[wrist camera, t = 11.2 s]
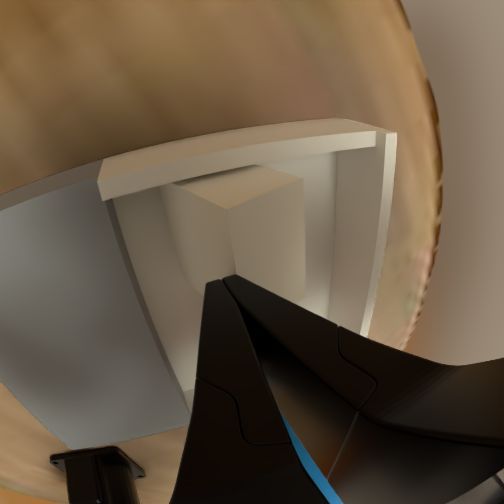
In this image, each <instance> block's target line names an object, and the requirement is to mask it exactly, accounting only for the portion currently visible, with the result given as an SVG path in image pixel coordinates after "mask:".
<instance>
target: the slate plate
mask: <svg viewBox="0 0 504 504" xmlns="http://www.w3.org/2000/svg"><path fill="white" fill-rule="evenodd" d="M103 160H104V159H101V160H98V161H94V162H91V163H88V164H84V165H81V166H78V167H75V168H72V169H69V170H66V171H63V172H60V173H57V174H54V175H51V176H48V177H46V178H43V179H40V180H37V181H35V182H32V183H29V184H27V185H24V186H22V187H19V188H17V189H14V190H12V191H9V192H7V193H4V194H2V195H0V381H1V382H2V383H3V385H4V386H5V387H6V388H7V389H8V390H9V391H10V392H11V393H12V394H13V396H14V397H15V398H16V399H17V400H18V401H19V402H20V403H21V404H22V405H23V406H24V407H25V408H26V409H27V410H28V411H29V412H30V413H31V414H32V415H33V416H34V417H35V418H36V419H37V420H38V421H39V422H40V423H41V424H42V425H44V426H45V427H46V428H47V429H48V430H49V431H50V432H51V433H52V434H54V435H55V436H56V437H57V438H58V439H59V440H60V441H62V442H63V443H64V444H65V445H66V446H68V447H69V448H70V449H71V450H76V449H83V448H89V447H95V446H101V445H107V444H112V443H117V442H122V441H127V440H132V439H136V438H141V437H145V436H149V435H154V434H158V433H162V432H165V431H169V430H173V429H177V428H180V427H184V426H187V425H189V423H190V418H191V415H190V412H189V409H188V406H187V403H186V400H185V396H184V393H183V390H182V388H181V386H180V384H179V382H178V380H177V377H176V375H175V373H174V371H173V369H172V366H171V364H170V362H169V359H168V357H167V355H166V353H165V350H164V348H163V345H162V343H161V341H160V338H159V336H158V333H157V331H156V328H155V326H154V323H153V321H152V318H151V316H150V313H149V310H148V308H147V305H146V302H145V300H144V297H143V294H142V292H141V289H140V286H139V283H138V280H137V277H136V275H135V272H134V269H133V266H132V263H131V260H130V257H129V254H128V250H127V247H126V244H125V241H124V238H123V234H122V231H121V228H120V224H119V221H118V218H117V214H116V211H115V207H114V203H113V200H112V199H108V200H105V201H102V198H101V194H100V191H99V187H98V183H97V180H98V176H99V173H100V170H101V166H102V163H103Z"/></svg>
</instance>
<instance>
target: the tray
mask: <svg viewBox="0 0 504 504" xmlns="http://www.w3.org/2000/svg"><path fill="white" fill-rule="evenodd" d="M396 145H397V133H396V132H392V131H389V130H386V129H382V128H379V127H375V126H372V125H368V124H364V123H361V122H357V121H353V120H349V119H345V118H328V119H315V120H304V121H294V122H285V123H277V124H269V125H261V126H254V127H247V128H241V129H234V130H228V131H222V132H217V133H211V134H206V135H200V136H195V137H190V138H185V139H181V140H176V141H171V142H167V143H162V144H158V145H154V146H150V147H146V148H142V149H138V150H134V151H130V152H126V153H122V154H119V155H115V156H111V157H108V158H104V160H103V163H102V166H101V170H100V173H99V176H98V180H97V183H98V187H99V191H100V194H101V198H102V201H105V200H108V199H112V200H113V203H114V207H115V211H116V214H117V218H118V221H119V224H120V228H121V231H122V234H123V238H124V241H125V244H126V247H127V250H128V254H129V257H130V260H131V263H132V266H133V269H134V272H135V275H136V277H137V280H138V283H139V286H140V289H141V292H142V294H143V297H144V300H145V302H146V305H147V308H148V310H149V313H150V316H151V318H152V321H153V323H154V326H155V328H156V331H157V333H158V336H159V338H160V341H161V343H162V345H163V348H164V350H165V353H166V355H167V357H168V359H169V362H170V364H171V366H172V369H173V371H174V373H175V375H176V377H177V380H178V382H179V384H180V386H181V388H182V390H183V393H184V396H185V400H186V403H187V406H188V409H189V412H190V415H191V413H192V406H193V397H194V388H195V380H196V368H197V357H198V347H199V337H200V327H201V318H202V308H203V299H204V296H203V295H201V294H200V293H199V292H198V291H197V290H196V289H195V288H194V287H193V286H192V285H191V284H190V283H189V282H188V281H187V280H186V279H185V278H183V277H182V273H181V270H180V266H179V263H178V259H177V255H176V252H175V248H174V244H173V240H172V237H171V233H170V229H169V225H168V221H167V217H166V213H165V209H164V205H163V201H162V196H161V192H160V188H159V186H160V185H163V184H167V183H172V182H176V181H180V180H184V179H188V178H193V177H197V176H201V175H206V174H210V173H215V172H220V171H224V170H229V169H234V168H239V167H244V166H249V165H254V164H255V165H259V166H262V167H266V168H270V169H273V170H277V171H280V172H283V173H287V174H290V175H293V176H297V177H300V178H303V186H304V217H305V298H303V299H302V300H300V301H299V302H298V303H296V304H297V305H299V306H301V307H303V308H305V309H307V310H309V311H311V312H313V313H315V314H317V315H319V316H321V317H323V318H326V319H328V320H330V321H332V322H334V323H336V324H337V325H338V326H342V327H344V328H346V329H349V330H351V331H353V332H355V333H357V334H360V335H362V336H364V337H366V338H367V335H368V331H369V327H370V323H371V318H372V314H373V309H374V305H375V300H376V295H377V291H378V285H379V280H380V275H381V270H382V264H383V258H384V252H385V246H386V240H387V233H388V226H389V218H390V211H391V202H392V193H393V183H394V172H395V160H396Z"/></svg>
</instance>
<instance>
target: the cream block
mask: <svg viewBox="0 0 504 504" xmlns="http://www.w3.org/2000/svg"><path fill="white" fill-rule="evenodd" d="M159 188H160V192H161V196H162V201H163V205H164V209H165V213H166V217H167V221H168V225H169V229H170V233H171V237H172V240H173V244H174V248H175V252H176V255H177V259H178V263H179V266H180V270H181V273H182V277H183V278H185V279H186V280H187V281H188V282H189V283H190V284H191V285H192V286H193V287H194V288H195V289H196V290H197V291H198V292H199V293H200V294H201V295H203V296H204V291H205V284H206V283H207V282H210V281H213V280H216V279H221V280H222V278H223V277H227V276H230V275H233V274H237V275H239V276H241V277H243V278H245V279H247V280H249V281H251V282H253V283H255V284H257V285H259V286H261V287H263V288H265V289H267V290H269V291H271V292H273V293H275V294H277V295H279V296H281V297H283V298H285V299H287V300H289V301H291V302H293V303H295V304H296V303H298V302H299V301H300V300H302V299H303V298H305V217H304V186H303V178H300V177H297V176H293V175H290V174H287V173H283V172H280V171H277V170H273V169H270V168H266V167H262V166H259V165H255V164H254V165H249V166H244V167H239V168H234V169H229V170H224V171H220V172H215V173H210V174H206V175H201V176H197V177H193V178H188V179H184V180H180V181H176V182H172V183H167V184H163V185H160V186H159Z"/></svg>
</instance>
